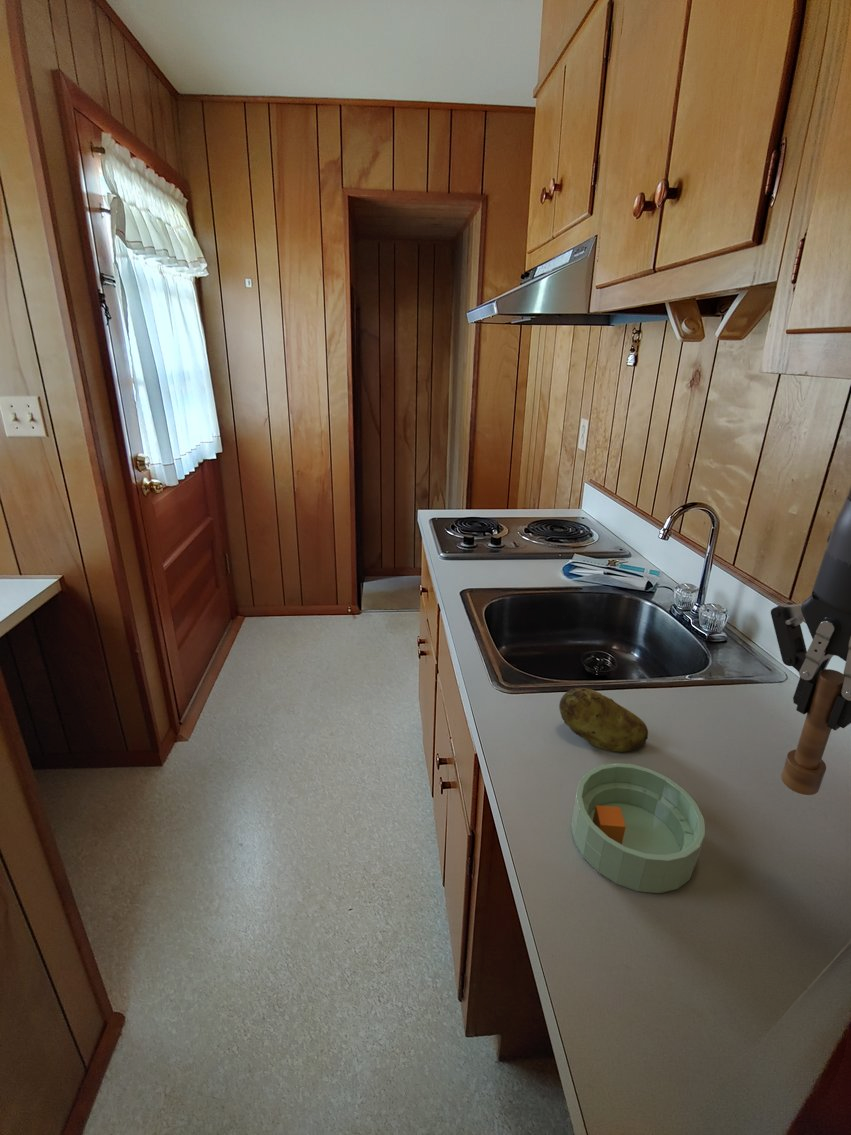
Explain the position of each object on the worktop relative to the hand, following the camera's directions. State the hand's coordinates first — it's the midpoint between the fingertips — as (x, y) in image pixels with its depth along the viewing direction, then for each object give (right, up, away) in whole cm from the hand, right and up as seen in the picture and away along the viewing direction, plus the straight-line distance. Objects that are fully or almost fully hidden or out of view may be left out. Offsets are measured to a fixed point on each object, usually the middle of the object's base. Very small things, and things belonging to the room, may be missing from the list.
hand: (819, 717), depth 54 cm
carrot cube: (-16, -18, +14) cm, 28 cm away
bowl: (-13, -19, +14) cm, 27 cm away
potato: (-12, -12, +31) cm, 36 cm away
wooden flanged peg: (+1, -8, +4) cm, 9 cm away
